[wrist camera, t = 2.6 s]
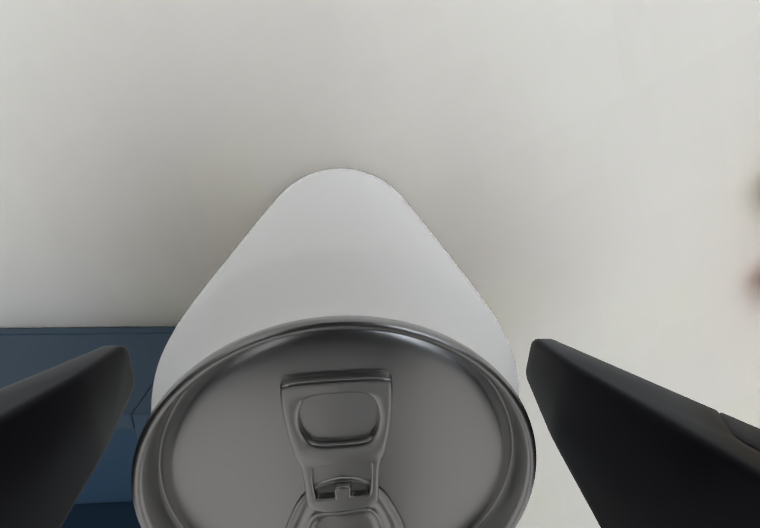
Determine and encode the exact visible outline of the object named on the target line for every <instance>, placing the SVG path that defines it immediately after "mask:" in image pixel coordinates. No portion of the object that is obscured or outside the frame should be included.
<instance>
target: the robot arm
mask: <svg viewBox="0 0 760 528" xmlns="http://www.w3.org/2000/svg"><path fill="white" fill-rule="evenodd" d="M526 375H527V379H528V382H529V384H530V387H531V389H532V392H533V394H534V396H535V399H536V401H537V404H538V406H539V408H540V411H541V413H542V416H543V418H544V420H545V423H546V425H547V427H548V430H549V432H550V434H551V436H552V438H553V440H554V442H555V444H556V446H557V448H558V450H559V452H560V453H561V455H562V457H563V459H564V461H565V463H566V464H567V466H568V468H569V470H570V472H571V474H572V475H573V477H574V479H575V481H576V483H577V485H578V486H579V488H580V490H581V492H582V494H583V496H584V497H585V499H586V501H587V503H588V505H589V506H590V508H591V510H592V512H593V514H594V516H595V517H596V519H597V521H598V523H599V525H600V527H601V528H760V429H759V428H757V427H754V426H752V425H749V424H747V423H745V422H742V421H740V420H738V419H735V418H733V417H731V416H728V415H726V414H724V413H718V411H716V410H714V409H712V408H710V407H707V406H705V405H703V404H701V403H698V402H696V401H694V400H691V399H689V398H687V397H684V396H682V395H680V394H677V393H675V392H673V391H671V390H668V389H666V388H664V387H661V386H659V385H657V384H654V383H652V382H650V381H647V380H645V379H643V378H640V377H638V376H636V375H634V374H631V373H629V372H627V371H624V370H622V369H620V368H617V367H615V366H613V365H610V364H608V363H606V362H604V361H601V360H599V359H597V358H594V357H592V356H590V355H587V354H585V353H583V352H580V351H578V350H576V349H573V348H571V347H569V346H567V345H564V344H562V343H560V342H557V341H555V340H552V339H535V340H534V341H533V342H532V344H531V348H530V353H529V358H528V363H527V368H526ZM134 385H135V377H134V372H133V367H132V362H131V358H130V353H129V350H128V349H127V348H126V347H125V346H103V347H100V348H98V349H95V350H93V351H90V352H88V353H86V354H83V355H81V356H78V357H76V358H74V359H71V360H69V361H66V362H64V363H62V364H59V365H57V366H54V367H52V368H50V369H47V370H45V371H42V372H40V373H38V374H35V375H33V376H30V377H28V378H25V379H23V380H21V381H18V382H16V383H13V384H11V385H9V386H6V387H4V388H1V389H0V528H61V526H62V525H63V523H64V521H65V520H66V518H67V516H68V515H69V513H70V511H71V509H72V508H73V506H74V504H75V503H76V501H77V499H78V498H79V496H80V494H81V492H82V491H83V489H84V487H85V486H86V484H87V482H88V481H89V479H90V477H91V475H92V474H93V472H94V470H95V469H96V467H97V465H98V463H99V462H100V460H101V458H102V456H103V454H104V452H105V450H106V448H107V446H108V444H109V442H110V440H111V438H112V435H113V433H114V431H115V429H116V427H117V424H118V422H119V420H120V418H121V416H122V414H123V411H124V409H125V407H126V405H127V403H128V400H129V398H130V396H131V394H132V392H133V389H134Z"/></svg>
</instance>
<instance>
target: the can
mask: <svg viewBox="0 0 760 528" xmlns="http://www.w3.org/2000/svg"><path fill="white" fill-rule="evenodd" d="M535 472H536V446H535V439H534V434H533V430H532V426H531V423H530V420H529V417H528V415H527V412H526V410H525V408H524V406H523V404H522V402H521V401H520V399H519V390H518V379H517V372H516V366H515V362H514V358H513V354H512V351H511V348H510V346H509V343H508V341H507V339H506V337H505V335H504V333H503V331H502V329H501V327H500V325H499V323H498V321H497V320H496V318H495V316H494V315H493V313H492V312H491V310H490V309H489V307H488V306H487V305H486V303H485V302H484V300H483V299H482V297H481V296H480V295H479V293H478V292H477V291H476V289H475V288H474V287H473V285H472V284H471V283H470V282H469V280H468V279H467V278H466V276H465V275H464V274H463V272H462V271H461V270H460V269H459V267H458V266H457V265H456V263H455V262H454V261H453V260H452V258H451V257H450V256H449V255H448V253H447V252H446V251H445V249H444V248H443V247H442V246H441V244H440V243H439V242H438V241H437V239H436V238H435V237H434V236H433V234H432V233H431V232H430V231H429V229H428V228H427V227H426V226H425V224H424V223H423V222H422V221H421V219H420V218H419V217H418V216H417V214H416V213H415V212H414V211H413V210H412V208H411V207H410V206H409V205H408V203H407V202H406V201H405V200H404V199H403V198H402V197H401V195H400V194H399V193H398V192H397V191H396V190H395V189H393V188H392V187H391V186H390V185H388V184H387V183H386V182H384V181H383V180H381V179H379V178H377V177H375V176H373V175H371V174H368V173H365V172H362V171H358V170H353V169H344V168H336V169H327V170H322V171H318V172H315V173H312V174H309V175H307V176H305V177H303V178H301V179H299V180H298V181H296V182H294V183H293V184H292V185H290V186H289V187H288V188H287V189H286V190H285V191H284V192H283V193H282V194H281V195H280V196H279V197H278V198H277V199H276V200H275V201H274V202H273V204H272V205H271V206H270V207H269V208H268V210H267V211H266V212H265V213H264V214H263V216H262V217H261V218H260V219H259V220H258V222H257V223H256V224H255V225H254V226H253V228H252V229H251V230H250V231H249V233H248V234H247V235H246V236H245V238H244V239H243V240H242V241H241V242H240V244H239V245H238V246H237V247H236V249H235V250H234V251H233V252H232V254H231V255H230V256H229V257H228V259H227V260H226V261H225V262H224V263H223V265H222V266H221V267H220V268H219V270H218V271H217V272H216V273H215V275H214V276H213V277H212V279H211V280H210V281H209V282H208V284H207V285H206V286H205V287H204V289H203V290H202V291H201V293H200V294H199V295H198V296H197V298H196V299H195V300H194V302H193V303H192V304H191V306H190V307H189V309H188V310H187V311H186V313H185V314H184V316H183V317H182V318H181V320H180V321H179V323H178V324H177V326H176V328H175V330H174V331H173V333H172V335H171V337H170V339H169V341H168V343H167V344H166V346H165V348H164V351H163V353H162V355H161V358H160V361H159V363H158V367H157V370H156V374H155V378H154V384H153V391H152V400H151V415H150V416H149V418H148V420H147V422H146V424H145V425H144V428H143V430H142V432H141V434H140V437H139V440H138V443H137V446H136V449H135V453H134V458H133V463H132V472H131V489H132V498H133V503H134V508H135V512H136V515H137V518H138V521H139V523H140V526H141V528H515V527H516V525H517V523H518V522H519V520H520V518H521V516H522V514H523V512H524V510H525V508H526V506H527V503H528V501H529V498H530V495H531V492H532V488H533V484H534V479H535Z"/></svg>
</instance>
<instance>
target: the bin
mask: <svg viewBox="0 0 760 528" xmlns="http://www.w3.org/2000/svg"><path fill="white" fill-rule="evenodd" d="M175 328H176V327H96V328H0V389H1V388H4V387H6V386H9V385H11V384H13V383H16V382H18V381H21V380H23V379H25V378H28V377H30V376H33V375H35V374H38V373H40V372H42V371H45V370H47V369H50V368H52V367H54V366H57V365H59V364H62V363H64V362H66V361H69V360H71V359H74V358H76V357H78V356H81V355H83V354H86V353H88V352H90V351H93V350H95V349H98V348H100V347H103V346H125V347H126V348H127V349H128V350H129V353H130V358H131V362H132V367H133V372H134V377H135V385H134V389H133V392H132V394H131V396H130V398H129V400H128V403H127V405H126V407H125V409H124V411H123V414H122V416H121V418H120V420H119V422H118V424H117V427H116V429H115V431H114V433H113V435H112V438H111V440H110V442H109V444H108V446H107V448H106V450H105V452H104V454H103V456H102V458H101V460H100V462H99V463H98V465H97V467H96V469H95V470H94V472H93V474H92V475H91V477H90V479H89V481H88V482H87V484H86V486H85V487H84V489H83V491H82V492H81V494H80V496H79V498H78V499H77V501H76V503H75V504H74V506H73V508H72V509H71V511H70V513H69V515H68V516H67V518H66V520H65V521H64V523H63V525H62V526H61V528H141V526H140V523H139V521H138V518H137V515H136V512H135V508H134V503H133V498H132V489H131V472H132V463H133V458H134V453H135V449H136V446H137V443H138V440H139V437H140V434H141V432H142V430H143V428H144V425H145V424H146V422H147V420H148V418H149V416H150V415H151V400H152V391H153V384H154V378H155V374H156V370H157V367H158V363H159V361H160V358H161V355H162V353H163V351H164V348H165V346H166V344H167V343H168V341H169V339H170V337H171V335H172V333H173V331H174V330H175Z"/></svg>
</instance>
